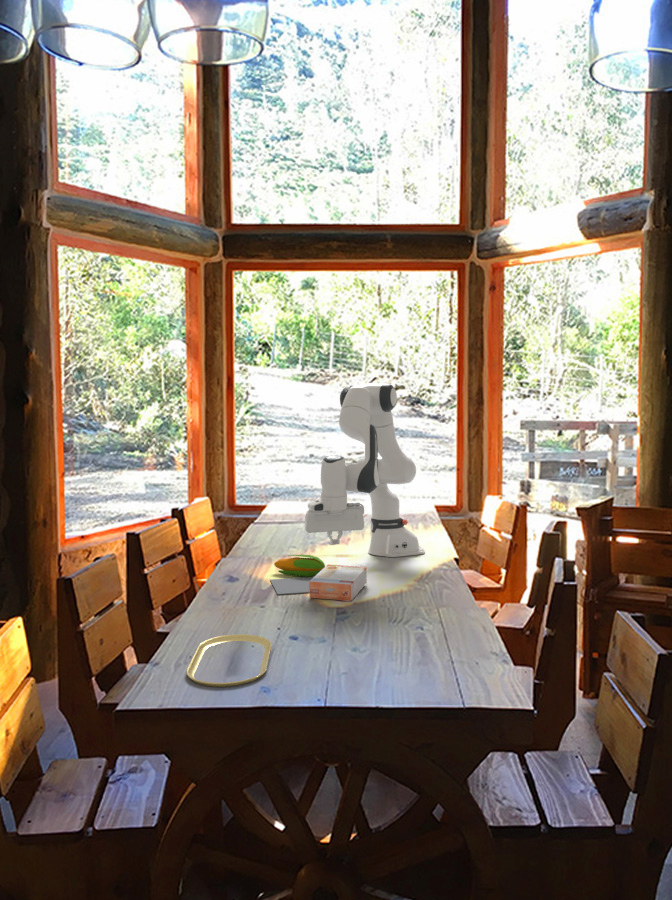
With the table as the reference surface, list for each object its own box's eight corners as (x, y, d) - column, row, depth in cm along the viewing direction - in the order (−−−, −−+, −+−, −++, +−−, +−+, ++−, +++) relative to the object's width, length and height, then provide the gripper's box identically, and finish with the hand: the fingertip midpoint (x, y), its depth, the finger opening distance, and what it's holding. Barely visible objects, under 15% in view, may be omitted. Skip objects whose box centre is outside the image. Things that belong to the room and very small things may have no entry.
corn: (320, 557, 278) (268, 554, 285) (320, 579, 278) (268, 575, 285) (328, 555, 285) (278, 551, 292) (328, 576, 285) (277, 572, 292)
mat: (332, 576, 282) (332, 575, 282) (344, 590, 262) (344, 589, 262) (270, 580, 277) (270, 579, 277) (277, 595, 258) (277, 593, 258)
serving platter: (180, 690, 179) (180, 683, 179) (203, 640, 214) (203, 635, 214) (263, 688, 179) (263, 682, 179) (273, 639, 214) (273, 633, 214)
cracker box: (327, 580, 273) (308, 598, 253) (327, 563, 272) (308, 579, 252) (367, 584, 269) (351, 602, 249) (367, 566, 268) (351, 583, 248)
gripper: (361, 501, 275) (362, 540, 276) (303, 503, 271) (304, 544, 272) (366, 503, 269) (366, 544, 270) (306, 506, 265) (307, 547, 266)
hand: (334, 544), depth 271 cm, fingers closed
